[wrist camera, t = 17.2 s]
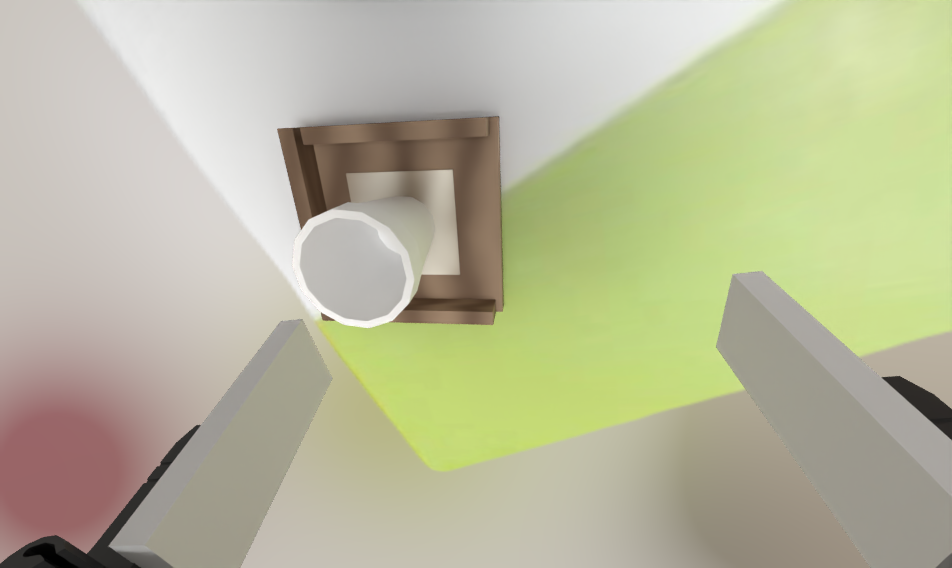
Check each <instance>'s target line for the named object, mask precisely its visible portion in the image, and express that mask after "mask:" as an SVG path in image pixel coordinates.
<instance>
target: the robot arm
mask: <svg viewBox="0 0 952 568" xmlns="http://www.w3.org/2000/svg"><path fill="white" fill-rule="evenodd" d="M716 348H717V349H718V351H719V352H720V353H721V355H722V356H723V358H724V359H725V361H726V362H727V363H728V365H729V366H730V368H731V369H732V371H733V372H734V373H735V375H736V376H737V378H738V379H739V381H740V382H741V383H742V385H743V386H744V388H745V389H746V391H747V392H748V393H749V395H750V396H751V398H752V399H753V400H754V402H755V403H756V405H757V406H758V408H759V409H760V411H761V412H762V413H763V415H764V416H765V418H766V419H767V420H768V422H769V423H770V425H771V426H772V428H773V429H774V431H775V432H776V433H777V435H778V436H779V438H780V439H781V440H782V442H783V443H784V445H785V446H786V448H787V449H788V451H789V452H790V453H791V455H792V456H793V458H794V459H795V461H796V462H797V463H798V465H799V466H800V468H801V469H802V470H803V472H804V473H805V475H806V476H807V478H808V479H809V481H810V482H811V483H812V485H813V486H814V488H815V489H816V491H817V492H818V494H819V495H820V496H821V498H822V499H823V500H824V502H825V503H826V505H827V506H828V508H829V509H830V511H831V512H832V513H833V515H834V516H835V518H836V519H837V521H838V522H839V524H840V525H841V526H842V528H843V529H844V530H845V532H846V533H847V535H848V536H849V538H850V539H851V541H852V542H853V543H854V545H855V546H856V548H857V549H858V551H859V552H860V554H861V555H862V556H863V558H864V559H865V561H866V562H867V564H868V565H869V566H870V568H952V409H951V408H950V407H948V406H947V405H946V404H945V403H944V402H942V401H941V400H940V399H939V398H938V397H936V396H935V395H934V394H932V393H930V392H928V391H926V390H925V389H923V388H921V387H919V386H917V385H915V384H913V383H912V382H910V381H908V380H906V379H904V378H902V377H900V376H895V377H880V376H879V375H878V374H877V373H876V372H875V371H873V370H872V369H871V368H870V367H869V366H868V365H866V364H865V363H864V362H863V361H862V360H861V359H860V358H859V357H858V356H857V355H855V354H854V353H853V352H852V351H851V350H850V349H849V348H848V347H847V346H845V345H844V344H843V343H842V342H841V341H840V340H839V339H838V338H836V337H835V336H834V335H833V334H832V333H831V332H830V331H829V330H827V329H826V328H825V327H824V326H823V325H822V324H821V323H820V322H818V321H817V320H816V319H815V318H814V317H813V316H812V315H811V314H810V313H808V312H807V311H806V310H805V309H804V308H803V307H802V306H801V305H799V304H798V303H797V302H796V301H795V300H794V299H793V298H792V297H790V296H789V295H788V294H787V293H786V292H785V291H784V290H783V289H781V288H780V287H779V286H778V285H777V284H776V283H775V282H774V281H772V280H771V279H770V278H769V277H768V276H767V275H766V274H765V273H764V272H762V271H758V272H748V273H739V274H733V275H732V279H731V283H730V288H729V292H728V297H727V301H726V305H725V310H724V314H723V318H722V323H721V327H720V332H719V336H718V340H717V345H716ZM331 381H332V376H331V374H330V372H329V370H328V368H327V367H326V365H325V363H324V361H323V359H322V357H321V355H320V353H319V351H318V349H317V347H316V345H315V343H314V341H313V339H312V337H311V336H310V333H309V331H308V329H307V328H306V325H305V323H304V321H303V320H302V319H298V320H289V321H281V322H280V323H279V324H278V326H277V327H276V328H275V329H274V331H273V332H272V333H271V335H270V336H269V337H268V339H267V340H266V341H265V343H264V344H263V345H262V346H261V348H260V349H259V350H258V352H257V353H256V354H255V356H254V357H253V358H252V360H251V361H250V362H249V363H248V365H247V366H246V367H245V369H244V370H243V371H242V372H241V374H240V375H239V376H238V378H237V379H236V380H235V382H234V383H233V384H232V386H231V387H230V388H229V389H228V391H227V392H226V393H225V395H224V396H223V397H222V399H221V400H220V401H219V402H218V404H217V405H216V406H215V408H214V409H213V410H212V412H211V413H210V414H209V416H208V417H207V418H206V420H205V421H204V422H203V423H202V425H196V426H195V427H194V428H193V429H192V430H190V431H189V432H188V433H187V434H186V435H185V436H184V437H182V438H181V439H180V440H179V441H178V442H176V444H175V445H174V446H173V448H172V449H171V450H170V451H169V452H168V454H167V455H166V456H165V457H164V459H163V460H162V461H161V465H160V466H158V467H156V469H155V470H154V471H153V472H152V474H151V475H150V476H149V477H148V479H147V480H148V481H147V483H144V484H143V485H142V486H141V488H140V489H139V490H138V491H137V493H136V494H135V495H134V496H133V498H132V499H131V500H130V501H129V503H128V504H127V505H126V507H125V508H124V509H123V510H122V511H121V513H120V514H119V515H118V516H117V518H116V519H115V520H114V522H113V523H112V524H111V525H110V526H109V528H108V529H107V530H106V532H105V533H104V534H103V535H102V537H101V538H100V539H99V540H98V542H97V543H96V544H95V545H94V547H93V548H92V549H91V550H90V551H89V552H88V553H87V554H85V553H84V552H82V551H81V550H79V549H78V548H76V547H75V546H73V545H72V544H70V543H69V542H67V541H65V540H64V539H62V538H60V537H59V536H56V535H55V536H48V537H43V538H40V539H38V540H36V541H34V542H32V543H29V544H28V545H25V546H24V547H23V548H21V549H19V550H18V551H16V552H15V553H13V554H12V555H10V556H9V557H8V558H7V559H5V560H4V561H3V562H2V563H1V564H0V568H240V567H241V565H242V563H243V561H244V559H245V557H246V555H247V553H248V551H249V549H250V547H251V545H252V543H253V541H254V538H255V536H256V534H257V532H258V530H259V528H260V526H261V524H262V522H263V520H264V518H265V516H266V514H267V511H268V510H269V507H270V506H271V504H272V502H273V500H274V497H275V495H276V493H277V491H278V489H279V487H280V485H281V483H282V481H283V479H284V477H285V475H286V473H287V471H288V469H289V467H290V465H291V463H292V460H293V458H294V456H295V454H296V452H297V450H298V448H299V446H300V444H301V442H302V440H303V438H304V436H305V434H306V432H307V430H308V428H309V425H310V423H311V422H312V419H313V417H314V415H315V413H316V411H317V409H318V407H319V405H320V403H321V401H322V399H323V396H324V395H325V393H326V391H327V389H328V387H329V385H330V383H331Z"/></svg>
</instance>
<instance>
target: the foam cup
mask: <svg viewBox="0 0 952 568" xmlns="http://www.w3.org/2000/svg"><path fill="white" fill-rule="evenodd" d="M434 233H435V225H434V220H433V216H432V214H431V213H430V211H429V210H428V209H427V207H426V206H425V205H424V204H423V203H421V202H420V201H418V200H416V199H414V198H413V197H405V196H395V197H389V198H384V199H378V200H373V201H367V202H362V203H350V202H347V203H345V204H343V205H340V206H338V207H335V208H333V209H331V210H328V211H326V212H324V213H322V214H320V215H317V216H315V217H313V218H311V219H309V220H308V221H307V223H306V224H305V225H304V227H303V228H302V230H301V231H300V232H299V234H298V235H297V237H296V238H295V240H294V248H293V260H292V267H293V270H294V272H295V275H296V278H297V280H298V283H299V286H300V289H301V291H302V292H303V293H304V294H305V296H306V297H307V298H308V299H309V300H310V301H311V302H312V304H313V305H314V306H315V307H316V308H317V309H318V310H319V311H320V312H321V313H323V314H325V315H327V316H329V317H330V318H332V319H334V320H336V321H338V322H340V323H341V324H343V325H349V326H357V327H365V328H371V327H374V326H378V325H381V324H384V323H387V322H390V321H393V320H394V319H395V318H396V317H397V316H398V314H399V313H400V312H401V311H402V310H403V309H404V308H405V307H406V306H407V305H408V304H409V303H410V301H411V300H412V298H413V297H414V295H415V294H416V292H417V290H418V286H419V282H420V278H421V274H422V270H423V266H424V264H425V261H426V258H427V255H428V253H429V250H430V247H431V244H432V241H433V237H434Z"/></svg>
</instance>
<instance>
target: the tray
mask: <svg viewBox="0 0 952 568" xmlns="http://www.w3.org/2000/svg"><path fill="white" fill-rule="evenodd" d="M277 130H278V135H279V139H280V143H281V147H282V151H283V156H284V160H285V164H286V168H287V172H288V177H289V181H290V185H291V189H292V193H293V198H294V202H295V206H296V210H297V214H298V219H299V223H300V227H301V230H302V228H303V227H304V225H305V224H306V223H307V221H308V220H309V219H311V218H313V217H315V216H317V215H320V214H322V213H324V212H326V211H328V210H331V209H333V208H335V207H338V206H340V205H343V204H345V203H347V202H350V203H362V202H367V201H373V200H378V199H384V198H389V197H395V196H405V197H413V198H414V199H416V200H418V201H420V202H421V203H423V204H424V205H425V206H426V207H427V209H428V210H429V211H430V213H431V214H432V216H433V220H434V225H435V233H434V237H433V241H432V244H431V247H430V250H429V253H428V255H427V258H426V261H425V264H424V266H423V270H422V274H421V278H420V282H419V286H418V290H417V292H416V294H415V295H414V297H413V298H412V300H411V301H410V303H409V304H408V305H407V306H406V307H405V308H404V309H403V310H402V311H401V312H400V313H399V314H398V316H397V317H396V318H395V319H394V320H393V321H390V322H403V323H442V324H481V325H493V324H494V318H495V313H496V312H503V306H504V303H503V262H502V221H501V179H500V138H499V117H482V118H463V119H445V120H427V121H409V122H391V123H372V124H354V125H336V126H318V127H300V128H281V129H277ZM321 315H322V319H323V320H325V321H335V320H334V319H332V318H330V317H329V316H327V315H325V314H323V313H321Z"/></svg>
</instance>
